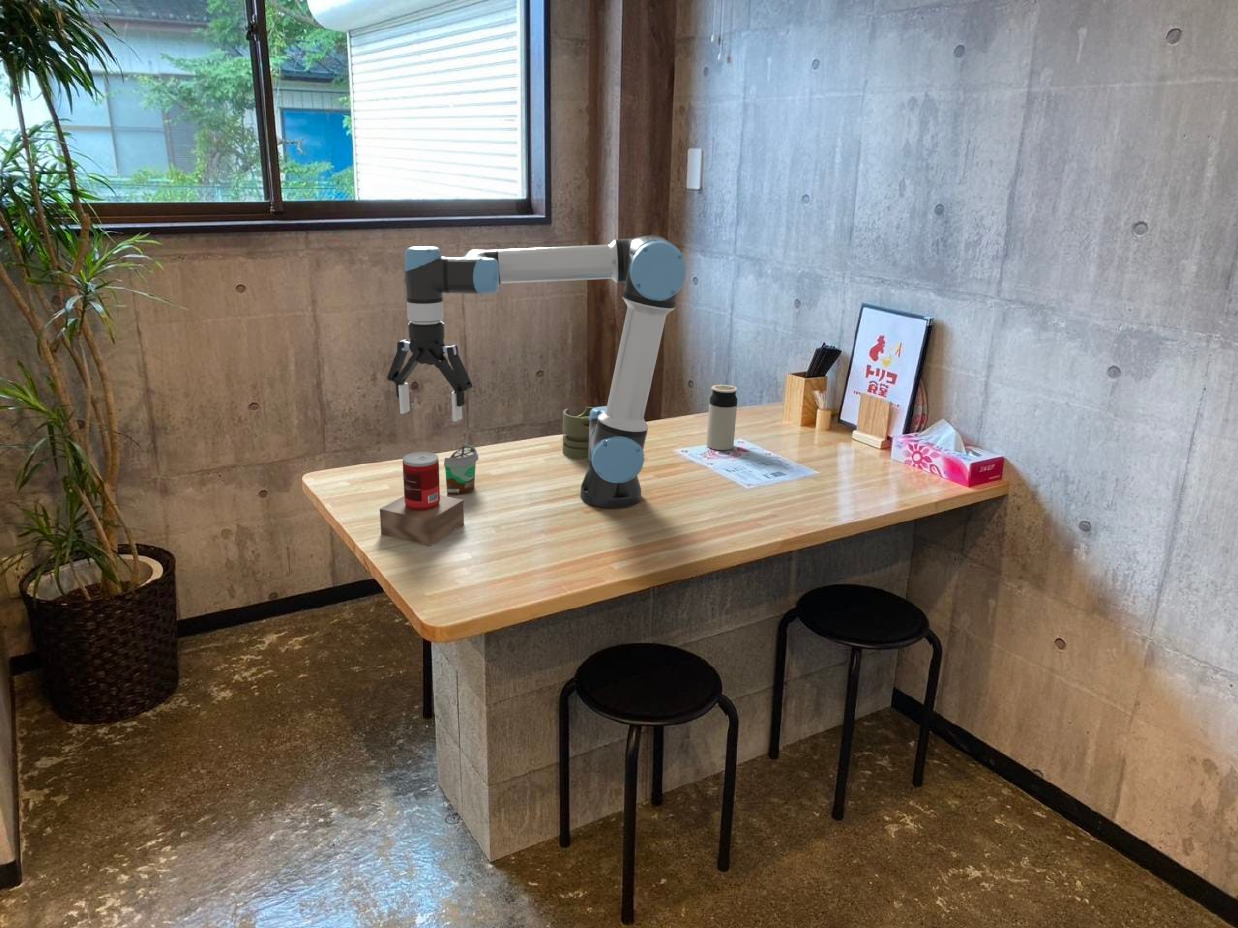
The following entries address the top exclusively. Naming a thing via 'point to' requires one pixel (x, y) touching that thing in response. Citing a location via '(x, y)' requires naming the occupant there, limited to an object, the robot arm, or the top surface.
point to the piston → (576, 434)
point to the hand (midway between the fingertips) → (431, 416)
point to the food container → (461, 470)
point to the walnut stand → (422, 520)
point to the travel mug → (722, 417)
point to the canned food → (421, 480)
